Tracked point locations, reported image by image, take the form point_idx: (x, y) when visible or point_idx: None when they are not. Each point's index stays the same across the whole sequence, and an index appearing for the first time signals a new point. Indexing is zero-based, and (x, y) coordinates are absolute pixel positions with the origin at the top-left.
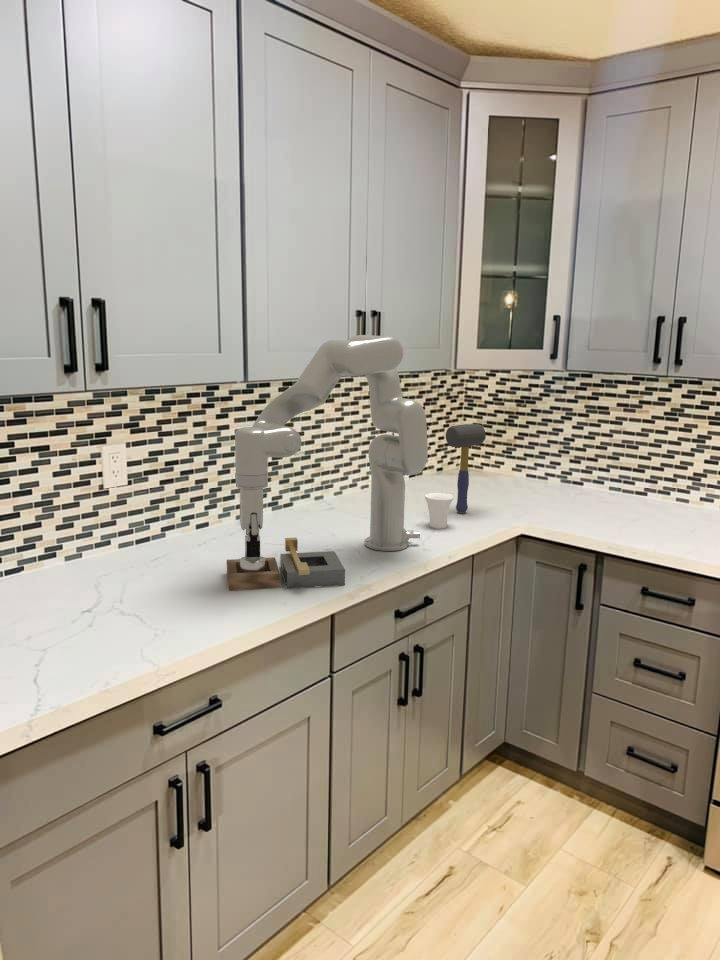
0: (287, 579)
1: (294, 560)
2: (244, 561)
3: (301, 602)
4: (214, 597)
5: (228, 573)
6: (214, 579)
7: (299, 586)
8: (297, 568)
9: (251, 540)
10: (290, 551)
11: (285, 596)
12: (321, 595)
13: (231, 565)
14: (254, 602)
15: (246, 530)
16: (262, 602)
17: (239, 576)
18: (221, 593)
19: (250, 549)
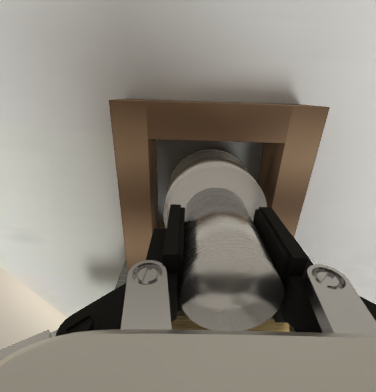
0: (120, 274)
1: (176, 326)
2: (193, 183)
3: (38, 270)
4: (63, 36)
5: (147, 101)
6: (250, 48)
7: None
8: None
9: (123, 291)
10: (273, 326)
11: (75, 245)
12: (81, 308)
13: (245, 123)
14: (28, 168)
15: (316, 299)
16: (30, 189)
17: (114, 145)
18: (102, 67)
19: (151, 242)
